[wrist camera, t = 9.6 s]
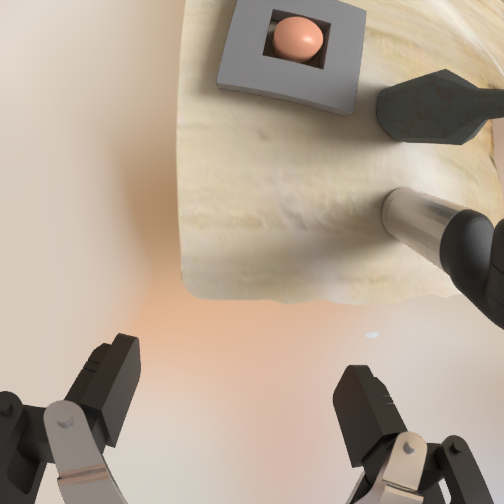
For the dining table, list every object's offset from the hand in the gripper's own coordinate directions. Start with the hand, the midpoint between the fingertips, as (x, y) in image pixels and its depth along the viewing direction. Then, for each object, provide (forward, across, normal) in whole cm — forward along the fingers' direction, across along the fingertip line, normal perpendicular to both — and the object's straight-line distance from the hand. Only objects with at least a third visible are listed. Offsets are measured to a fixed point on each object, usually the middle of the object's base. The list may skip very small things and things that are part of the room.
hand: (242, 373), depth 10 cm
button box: (+36, -3, -27) cm, 45 cm away
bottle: (+36, -23, -21) cm, 48 cm away
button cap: (+35, -3, -27) cm, 44 cm away
